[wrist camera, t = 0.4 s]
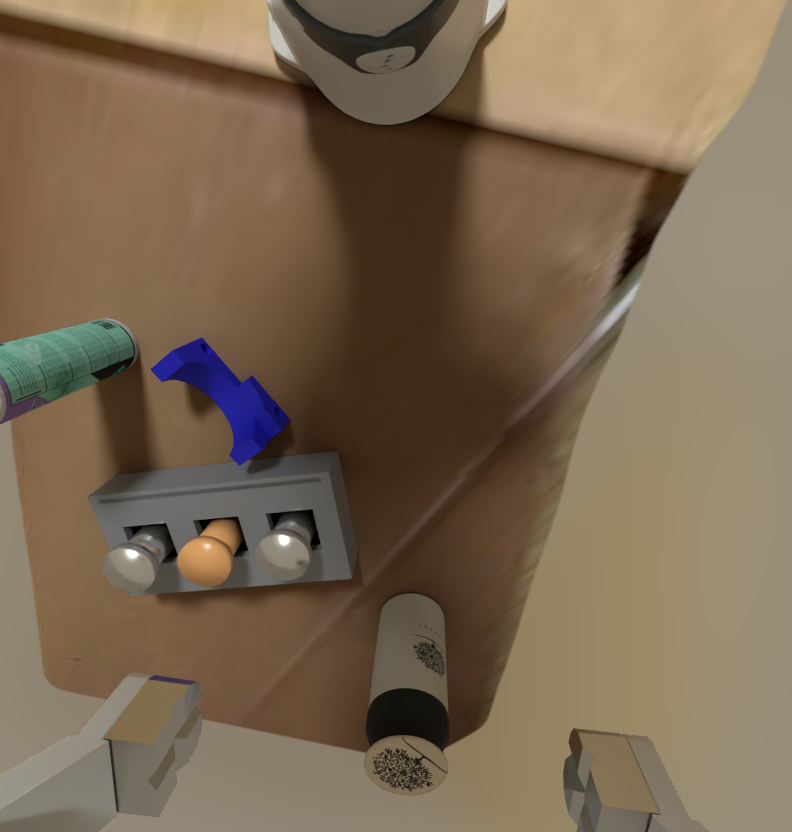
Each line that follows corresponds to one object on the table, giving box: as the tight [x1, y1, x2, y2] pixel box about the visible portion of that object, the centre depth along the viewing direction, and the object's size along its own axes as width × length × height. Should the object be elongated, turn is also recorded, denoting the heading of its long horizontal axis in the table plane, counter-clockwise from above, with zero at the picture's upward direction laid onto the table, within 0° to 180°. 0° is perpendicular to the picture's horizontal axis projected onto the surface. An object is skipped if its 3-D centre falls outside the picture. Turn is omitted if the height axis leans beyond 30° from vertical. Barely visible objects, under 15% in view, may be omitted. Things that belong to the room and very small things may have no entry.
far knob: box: [102, 523, 175, 592], centre depth 50 cm, size 5×5×6 cm
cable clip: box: [150, 338, 290, 466], centre depth 47 cm, size 12×4×6 cm, turn 37°
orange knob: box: [177, 517, 244, 587], centre depth 49 cm, size 5×5×6 cm
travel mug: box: [364, 593, 449, 795], centre depth 50 cm, size 8×8×18 cm
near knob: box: [255, 510, 316, 581], centre depth 48 cm, size 5×5×6 cm
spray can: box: [0, 318, 139, 424], centre depth 39 cm, size 6×6×20 cm
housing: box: [88, 451, 358, 596], centre depth 53 cm, size 13×26×5 cm, turn 98°
